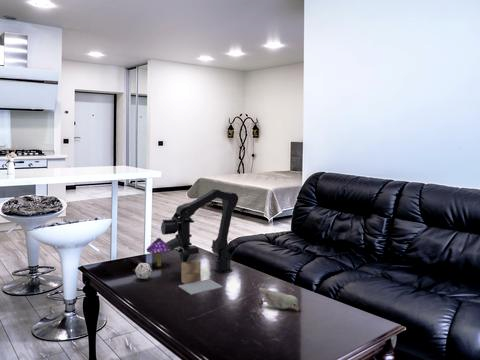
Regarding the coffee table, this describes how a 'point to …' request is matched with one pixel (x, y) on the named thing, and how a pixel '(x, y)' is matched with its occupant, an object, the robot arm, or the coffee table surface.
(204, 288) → the rubber mat
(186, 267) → the brown wooden block
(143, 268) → the game die
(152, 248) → the decorative mushroom
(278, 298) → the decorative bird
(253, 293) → the coffee table surface
